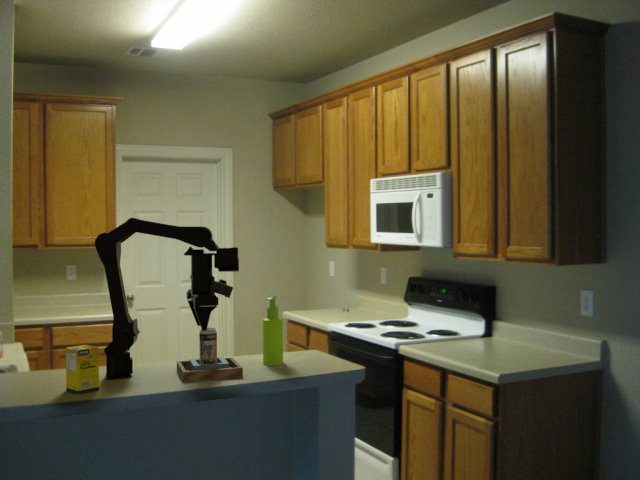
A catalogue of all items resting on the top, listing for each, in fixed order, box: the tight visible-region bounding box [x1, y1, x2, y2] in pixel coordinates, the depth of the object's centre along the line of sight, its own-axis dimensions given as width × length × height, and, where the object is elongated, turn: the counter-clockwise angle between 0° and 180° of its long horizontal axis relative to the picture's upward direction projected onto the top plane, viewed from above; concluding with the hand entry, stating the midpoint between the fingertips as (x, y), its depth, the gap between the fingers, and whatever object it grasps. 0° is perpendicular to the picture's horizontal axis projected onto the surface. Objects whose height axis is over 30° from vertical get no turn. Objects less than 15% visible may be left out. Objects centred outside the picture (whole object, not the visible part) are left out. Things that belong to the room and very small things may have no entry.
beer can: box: [198, 327, 218, 364], centre depth 190 cm, size 5×5×12 cm
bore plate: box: [189, 356, 229, 371], centre depth 190 cm, size 10×10×3 cm
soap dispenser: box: [262, 295, 284, 366], centre depth 203 cm, size 6×7×20 cm
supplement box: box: [65, 344, 100, 395], centre depth 172 cm, size 6×6×11 cm
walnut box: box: [176, 356, 244, 383], centre depth 190 cm, size 16×15×2 cm
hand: (201, 328), depth 189 cm, fingers open, 9 cm apart
